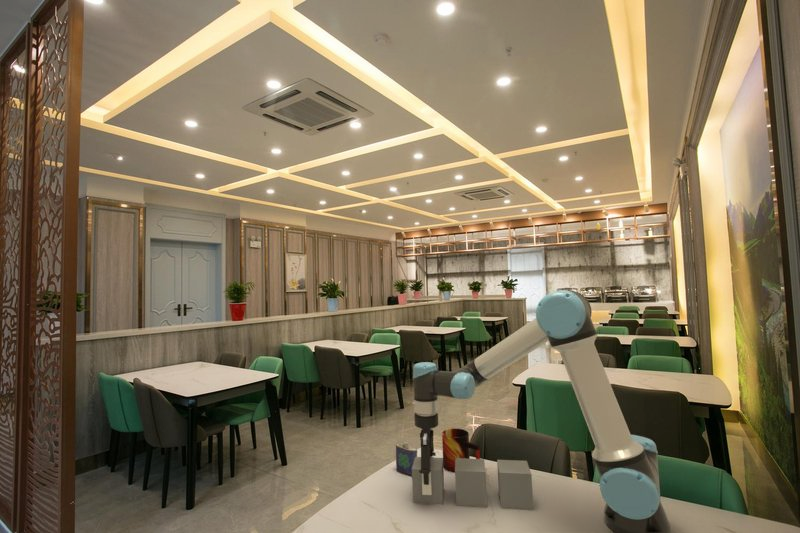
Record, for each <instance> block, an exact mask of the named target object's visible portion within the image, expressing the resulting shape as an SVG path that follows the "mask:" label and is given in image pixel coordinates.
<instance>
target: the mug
mask: <svg viewBox="0 0 800 533" xmlns="http://www.w3.org/2000/svg"><path fill="white" fill-rule="evenodd" d="M469 434H470V433H469V431H467V430H466V429H463V428H448V429H444V430H443V431H442V432H441V437H442V438H441V439H442V443H441V444H442V458H443V470H445V471H446V472H450V473H454V474H455V460H456V458H465V459H471V458H470V449H472V450H475V459H481V455H480V454H481V453H480V444H476V443H473V442H470V437H469V436H470V435H469Z"/></svg>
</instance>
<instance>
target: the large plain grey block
mask: <svg viewBox="0 0 800 533" xmlns="http://www.w3.org/2000/svg"><path fill="white" fill-rule="evenodd" d="M433 457H434V456H432V457H430V471H431V490H432V495H422V473H419V470H421V456H417V457H415V460H414V463H413V467H412V476H411V484H412V485H411V486H412V489H411V490H412V504H420V505H421V504H422V505H423V504H424V505H437V506H438V505H439V506H443V505H444V497H445V496H444V495H445V480H444V479H445V478H444V476H445V475H444V472H445V471H444V467H443V457H434V458H433Z"/></svg>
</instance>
